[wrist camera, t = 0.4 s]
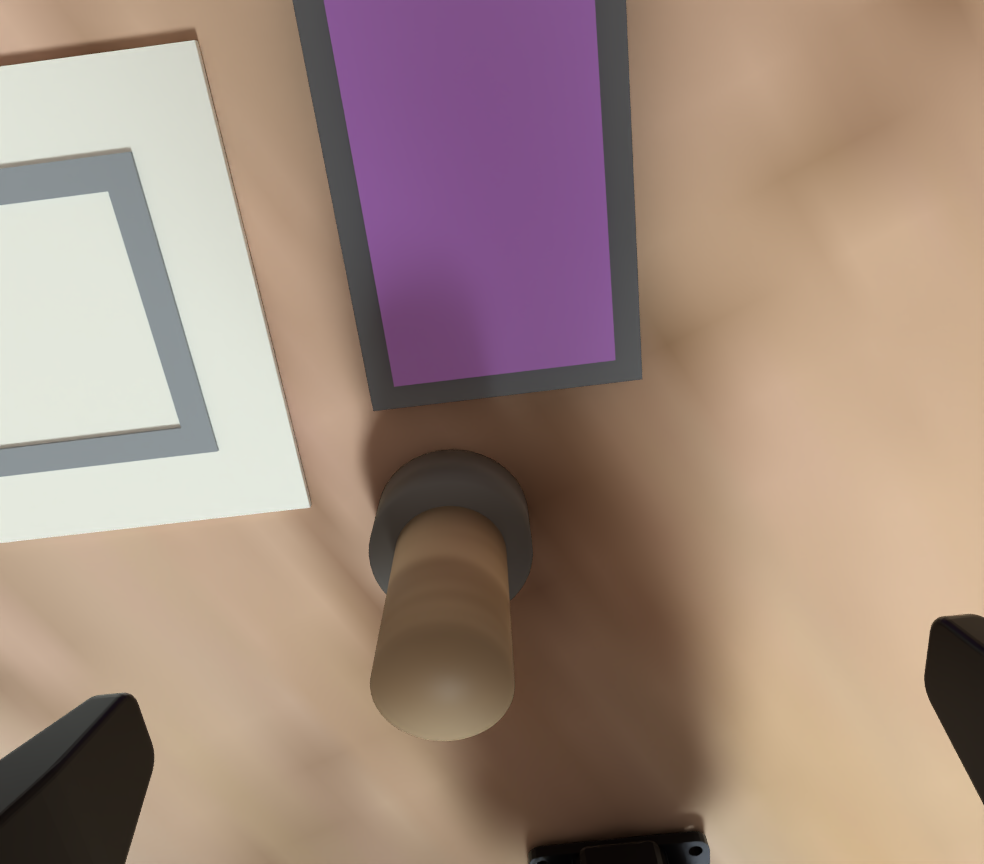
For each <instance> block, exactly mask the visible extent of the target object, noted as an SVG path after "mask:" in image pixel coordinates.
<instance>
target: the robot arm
mask: <svg viewBox="0 0 984 864" xmlns="http://www.w3.org/2000/svg"><path fill="white" fill-rule="evenodd" d="M924 681H925V688H926V692H927V695H928V698H929V700H930V702H931V704H932V706H933V708H934V710H935V712H936V714H937V716H938V718H939V720H940V722H941V724H942V725H943V727H944V729H945V731H946V733H947V735H948V737H949V739H950V741H951V743H952V745H953V747H954V749H955V750H956V752H957V754H958V756H959V758H960V760H961V762H962V764H963V766H964V768H965V770H966V772H967V774H968V775H969V777H970V779H971V781H972V783H973V785H974V787H975V789H976V791H977V793H978V795H979V797H980V798H981V800H982V802H983V804H984V617H981V616H979V615H975V614H963V615H953V616H942V617H939V618H937V619H936V620H935V621H934V622H933V624H932V625H931V629H930V636H929V643H928V651H927V659H926V666H925V674H924ZM153 766H154V749H153V745H152V742H151V739H150V736H149V733H148V730H147V728H146V725H145V722H144V719H143V716H142V713H141V710H140V708H139V705H138V702H137V700H136V699H135V698H134V696H133V695H131V694H128V693H116V694H105V695H97V696H94V697H91V698H90V699H88V700H86V701H85V702H84V703H82V704H81V705H79V706H78V707H76V708H75V709H73V710H72V711H70V712H69V713H68V714H66V715H65V716H63V717H62V718H60V719H59V720H57V721H56V722H54V723H53V724H52V725H50V726H49V727H47V728H46V729H44V730H43V731H41V732H40V733H38V734H37V735H36V736H34V737H33V738H31V739H30V740H28V741H27V742H25V743H24V744H22V745H21V746H20V747H18V748H17V749H15V750H14V751H12V752H11V753H9V754H8V755H6V756H5V757H4V758H2V759H1V760H0V864H125V862H126V859H127V855H128V852H129V849H130V845H131V842H132V839H133V835H134V832H135V829H136V825H137V822H138V818H139V815H140V812H141V808H142V805H143V802H144V798H145V795H146V791H147V788H148V785H149V781H150V778H151V775H152V771H153ZM528 863H529V864H710V849H709V846H708V843H707V839H706V836H705V835H704V834H703V833H700V832H695V831H692V832H681V833H671V834H661V835H651V836H641V837H631V838H620V839H610V840H600V841H590V842H580V843H569V844H559V845H549V846H540V847H536V848H534V849H532V850H531V851H530V852H529V854H528Z"/></svg>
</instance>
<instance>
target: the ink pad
mask: <svg viewBox="0 0 984 864" xmlns="http://www.w3.org/2000/svg"><path fill="white" fill-rule="evenodd" d="M293 5H294V10H295V16H296V21H297V26H298V31H299V36H300V41H301V46H302V51H303V56H304V61H305V66H306V71H307V76H308V82H309V87H310V92H311V97H312V102H313V107H314V112H315V117H316V122H317V127H318V132H319V137H320V142H321V147H322V153H323V158H324V163H325V168H326V173H327V178H328V183H329V188H330V193H331V198H332V203H333V208H334V213H335V219H336V224H337V229H338V234H339V239H340V244H341V249H342V254H343V259H344V264H345V269H346V274H347V279H348V284H349V290H350V295H351V300H352V305H353V310H354V315H355V320H356V325H357V330H358V335H359V340H360V345H361V350H362V356H363V361H364V366H365V371H366V376H367V381H368V386H369V391H370V396H371V401H372V406H373V411H379V410H387V409H396V408H404V407H413V406H421V405H429V404H438V403H446V402H455V401H463V400H472V399H480V398H489V397H497V396H505V395H514V394H522V393H531V392H539V391H548V390H556V389H565V388H573V387H581V386H590V385H598V384H607V383H615V382H624V381H632V380H641V379H642V362H641V339H640V315H639V292H638V269H637V246H636V223H635V200H634V176H633V153H632V130H631V107H630V84H629V61H628V38H627V14H626V0H293Z"/></svg>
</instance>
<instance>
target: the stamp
mask: <svg viewBox="0 0 984 864" xmlns="http://www.w3.org/2000/svg"><path fill="white" fill-rule="evenodd" d="M532 557H533V550H532V539H531V531H530V523H529V514H528V507H527V502H526V499H525V496H524V493H523V491H522V489H521V487H520V485H519V484H518V482H517V481H516V479H515V478H514V477H513V476H512V475H511V474H510V473H509V472H508V470H506V469H505V468H504V467H503V466H501V465H500V464H499V463H497V462H495V461H494V460H492V459H490V458H488V457H486V456H483V455H481V454H477V453H474V452H470V451H464V450H441V451H435V452H431V453H427V454H424V455H422V456H419V457H417V458H415V459H413V460H411V461H410V462H408V463H406V464H405V465H404V466H402V467H401V468H400V469H399V470H398V471H397V472H396V473H395V474H394V475H393V476H392V477H391V479H390V480H389V481H388V483H387V484H386V486H385V488H384V490H383V492H382V495H381V498H380V502H379V506H378V510H377V513H376V517H375V521H374V525H373V529H372V533H371V537H370V543H369V559H370V565H371V568H372V572H373V574H374V576H375V579H376V581H377V582H378V584H379V586H380V587H381V589H382V590H383V591H384V592H385V593H386V600H385V605H384V610H383V615H382V620H381V626H380V631H379V636H378V641H377V646H376V652H375V657H374V662H373V667H372V673H371V678H370V689H371V695H372V698H373V701H374V703H375V705H376V707H377V709H378V710H379V712H380V713H381V715H382V716H383V717H384V718H385V719H386V720H387V721H388V722H389V723H391V724H392V725H393V726H394V727H396V728H398V729H399V730H401V731H403V732H405V733H407V734H409V735H412V736H414V737H417V738H421V739H425V740H432V741H455V740H461V739H465V738H469V737H472V736H475V735H477V734H480V733H482V732H484V731H486V730H487V729H489V728H490V727H492V726H493V725H494V724H495V723H497V722H498V721H499V720H500V719H501V718H502V717H503V715H504V714H505V713H506V711H507V710H508V708H509V706H510V704H511V702H512V699H513V696H514V690H515V680H514V664H513V648H512V631H511V615H510V600H511V599H512V598H514V597H515V595H516V594H517V593H518V592H519V591H520V589H521V588H522V586H523V585H524V583H525V581H526V579H527V577H528V575H529V572H530V568H531V565H532Z"/></svg>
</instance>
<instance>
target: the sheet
mask: <svg viewBox="0 0 984 864" xmlns="http://www.w3.org/2000/svg"><path fill="white" fill-rule="evenodd" d="M310 506H311V500H310V496H309V492H308V488H307V484H306V480H305V476H304V472H303V467H302V463H301V459H300V455H299V451H298V447H297V443H296V439H295V435H294V431H293V427H292V423H291V419H290V415H289V410H288V406H287V402H286V398H285V394H284V390H283V386H282V382H281V378H280V374H279V370H278V366H277V362H276V357H275V353H274V349H273V345H272V341H271V337H270V333H269V329H268V325H267V321H266V317H265V313H264V309H263V304H262V300H261V296H260V292H259V288H258V284H257V280H256V276H255V272H254V268H253V264H252V260H251V256H250V251H249V247H248V243H247V239H246V235H245V231H244V227H243V223H242V219H241V215H240V211H239V207H238V203H237V199H236V194H235V190H234V186H233V182H232V178H231V174H230V170H229V166H228V162H227V158H226V154H225V150H224V146H223V141H222V137H221V133H220V129H219V125H218V121H217V117H216V113H215V109H214V105H213V101H212V97H211V93H210V88H209V84H208V80H207V76H206V72H205V68H204V64H203V60H202V56H201V52H200V48H199V44H198V41H196V40H192V41H184V42H177V43H169V44H162V45H155V46H147V47H140V48H133V49H125V50H118V51H111V52H103V53H96V54H89V55H81V56H74V57H67V58H59V59H52V60H44V61H37V62H30V63H22V64H15V65H8V66H0V543H4V542H13V541H22V540H30V539H39V538H48V537H57V536H65V535H74V534H83V533H92V532H100V531H109V530H118V529H127V528H135V527H144V526H153V525H161V524H170V523H179V522H188V521H196V520H205V519H214V518H223V517H231V516H240V515H249V514H258V513H266V512H275V511H284V510H293V509H301V508H310Z"/></svg>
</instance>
